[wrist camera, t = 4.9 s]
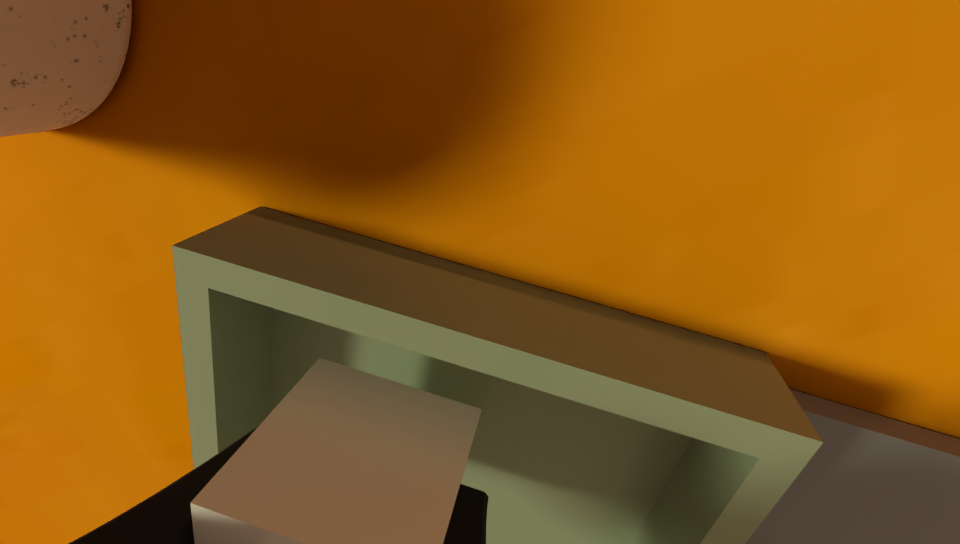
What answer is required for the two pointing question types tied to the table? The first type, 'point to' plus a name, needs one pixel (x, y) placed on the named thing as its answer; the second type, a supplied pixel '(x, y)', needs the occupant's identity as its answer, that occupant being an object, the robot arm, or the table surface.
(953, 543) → the slate board
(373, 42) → the table surface
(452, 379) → the olive dish
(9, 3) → the teacup with lid
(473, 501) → the robot arm
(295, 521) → the stone cube
